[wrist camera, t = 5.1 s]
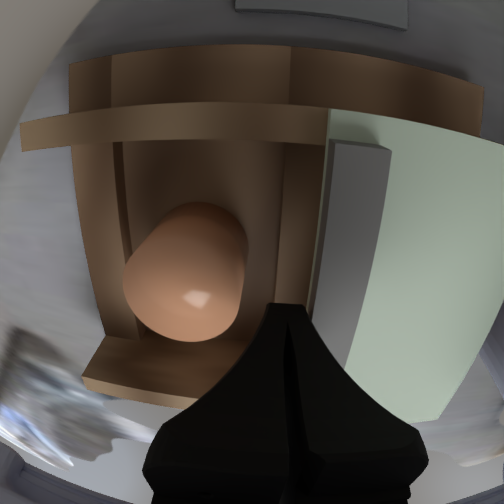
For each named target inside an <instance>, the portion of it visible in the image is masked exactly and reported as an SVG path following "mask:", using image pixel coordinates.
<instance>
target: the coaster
mask: <svg viewBox="0 0 504 504" xmlns="http://www.w3.org/2000/svg"><path fill="white" fill-rule="evenodd" d="M235 10H236V12H273V13H290V14H303V15H313V16H322V17H330V18H337V19H344V20H350V21H356V22H362V23H367V24H372V25H377V26H382V27H387V28H391V29H395V30H399V31H403V32H404V31H406V30H408V0H235Z"/></svg>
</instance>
